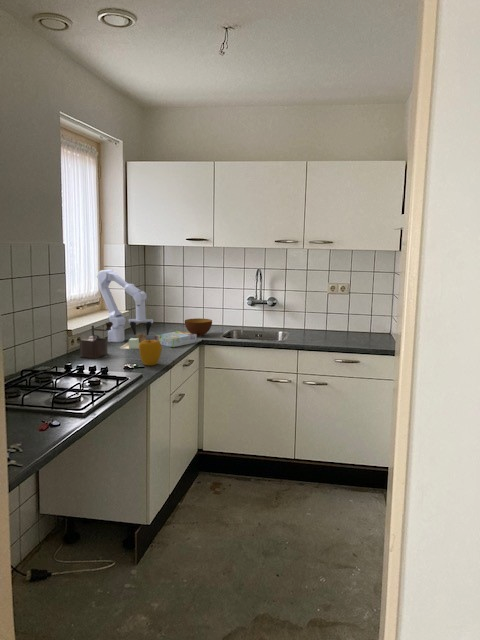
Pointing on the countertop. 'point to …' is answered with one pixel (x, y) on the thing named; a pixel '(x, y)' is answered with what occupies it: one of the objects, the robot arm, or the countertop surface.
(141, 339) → the walnut block
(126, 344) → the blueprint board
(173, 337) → the snack box
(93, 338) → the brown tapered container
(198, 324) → the bowl
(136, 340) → the sage block
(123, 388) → the countertop surface
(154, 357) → the yellow bell pepper
